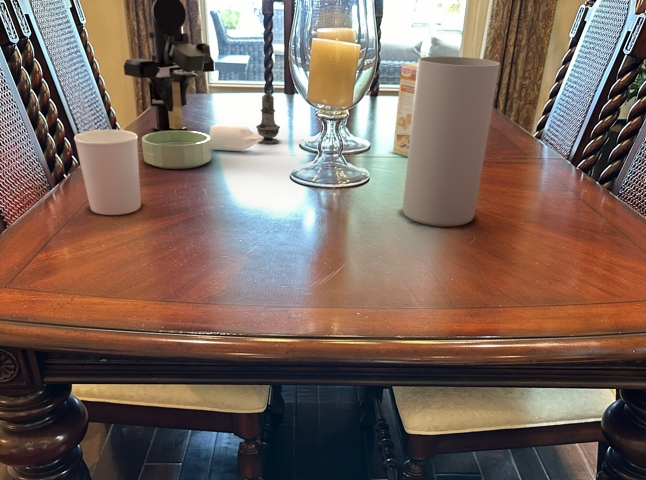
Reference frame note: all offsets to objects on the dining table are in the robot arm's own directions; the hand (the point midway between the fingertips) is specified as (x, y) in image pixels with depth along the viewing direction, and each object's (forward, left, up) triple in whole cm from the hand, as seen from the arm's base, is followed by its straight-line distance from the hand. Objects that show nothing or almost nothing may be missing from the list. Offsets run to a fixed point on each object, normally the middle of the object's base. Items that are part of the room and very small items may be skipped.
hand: (174, 110), depth 127 cm
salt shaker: (0, +28, -11) cm, 30 cm away
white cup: (+17, -27, -11) cm, 34 cm away
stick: (0, 0, -4) cm, 4 cm away
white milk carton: (+2, +16, -11) cm, 19 cm away
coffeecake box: (+32, +49, -11) cm, 59 cm away
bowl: (0, 0, -10) cm, 10 cm away
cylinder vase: (+59, +10, -11) cm, 61 cm away
